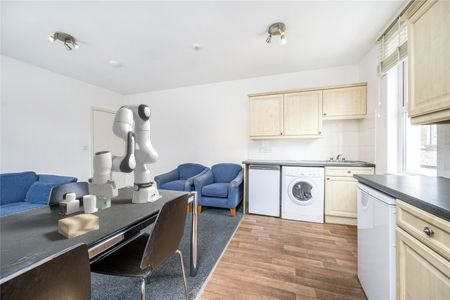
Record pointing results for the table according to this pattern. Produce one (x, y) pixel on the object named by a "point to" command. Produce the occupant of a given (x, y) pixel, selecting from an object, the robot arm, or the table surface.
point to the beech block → (78, 225)
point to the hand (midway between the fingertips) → (103, 203)
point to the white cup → (89, 204)
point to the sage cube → (102, 203)
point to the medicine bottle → (69, 204)
